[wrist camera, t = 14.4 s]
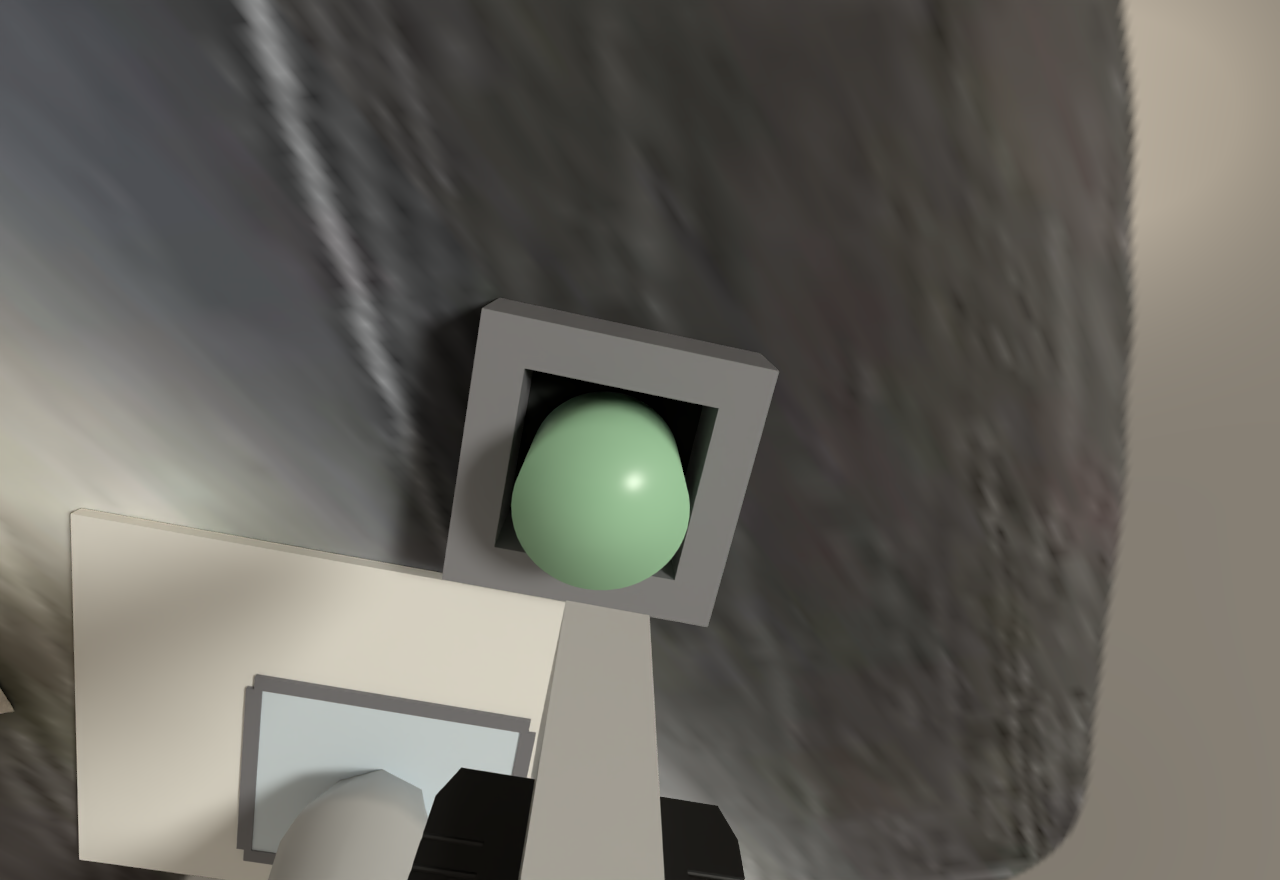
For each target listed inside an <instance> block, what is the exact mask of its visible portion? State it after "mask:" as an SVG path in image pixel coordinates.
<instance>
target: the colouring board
mask: <svg viewBox="0 0 1280 880" xmlns="http://www.w3.org/2000/svg"><path fill="white" fill-rule="evenodd" d="M71 550H72V590H73V629H74V669H75V708H76V748H77V788H78V827H79V860H86V861H93V862H100V863H108V864H115V865H122V866H129V867H136V868H144V869H151V870H158V871H165V872H172V873H179V874H187V875H194V876H201V877H209V878H215V879H222V880H268V878H269V875H270V872H271V869H272V865H273V862H274V859H275V856H276V853H277V850H278V847H279V843H280V841H281V840H282V838H283V837H284V835H285V834H286V832H287V831H288V829H289V828H290V826H291V825H292V824H293V822H294V821H295V819H296V818H297V817H298V815H299V814H300V813H301V811H302V810H303V809H304V808H305V807H306V806H307V805H308V804H310V803H311V802H312V801H314V800H315V799H316V798H318V797H319V796H320V795H321V794H323V793H324V792H325V791H327V790H328V789H329V788H330V787H332V786H333V785H334V784H336V783H337V782H338V781H340V780H342V779H346V778H350V777H354V776H358V775H362V774H366V773H369V772H373V771H377V770H381V769H383V770H385V771H387V772H389V773H391V774H392V775H394V776H396V777H398V778H400V779H402V780H404V781H406V782H408V783H410V784H412V785H414V786H416V787H418V788H420V789H422V794H423V799H424V805H425V809H426V812H427V816H428V817H429V814H430V811H431V808H432V805H433V802H434V799H435V796H436V794H437V793H438V792H439V791H440V790H441V789H442V788H443V787H444V786H445V785H446V784H447V783H448V781H449V780H450V779H451V778H452V777H453V776H454V775H455V774H456V773H457V772H458V771H459V769H460V768H461V767H462V768H468V769H474V770H481V771H487V772H493V773H499V774H506V775H512V776H518V777H524V778H531V773H532V768H533V762H534V756H535V750H536V745H537V739H538V733H539V727H540V722H541V718H542V713H543V708H544V703H545V699H546V694H547V689H548V684H549V679H550V675H551V670H552V665H553V660H554V655H555V651H556V646H557V641H558V636H559V631H560V627H561V622H562V617H563V612H564V607H565V603H566V602H565V601H559V600H554V599H548V598H543V597H537V596H531V595H526V594H520V593H515V592H509V591H503V590H498V589H492V588H487V587H481V586H475V585H470V584H464V583H459V582H453V581H448V580H442V575H443V573H440V572H435V571H429V570H423V569H418V568H412V567H407V566H401V565H396V564H390V563H384V562H379V561H373V560H368V559H362V558H357V557H351V556H345V555H340V554H334V553H329V552H323V551H318V550H312V549H307V548H301V547H295V546H290V545H284V544H279V543H273V542H268V541H262V540H256V539H251V538H245V537H240V536H234V535H229V534H223V533H217V532H212V531H206V530H201V529H195V528H190V527H184V526H179V525H173V524H167V523H162V522H156V521H151V520H145V519H140V518H134V517H128V516H123V515H117V514H112V513H106V512H101V511H95V510H89V509H84V508H80V509H78V510H76V511H74V512H73V513H71Z"/></svg>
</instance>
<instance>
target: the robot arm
mask: <svg viewBox="0 0 1280 880" xmlns="http://www.w3.org/2000/svg"><path fill="white" fill-rule="evenodd" d="M744 879H745V877H744V871H743V866H742V860H741V855H740V849H739V844H738V839H737V838H736V836H735V834H734V833H733V831H732V829H731V828H730V826H729V824H728V823H727V821H726V819H725V818H724V816H723V814H722V813H721V811H720V809H719V808H718V806H715V805H709V804H703V803H696V802H690V801H684V800H678V799H671V798H665V797H660V791H659V774H658V756H657V739H656V722H655V704H654V687H653V670H652V652H651V635H650V617H649V615H645V614H639V613H634V612H628V611H623V610H617V609H612V608H606V607H601V606H595V605H590V604H584V603H579V602H573V601H568V600H566V603H565V607H564V612H563V617H562V622H561V627H560V631H559V636H558V641H557V646H556V651H555V655H554V660H553V665H552V670H551V675H550V679H549V684H548V689H547V694H546V699H545V703H544V708H543V713H542V718H541V722H540V727H539V733H538V739H537V745H536V750H535V756H534V762H533V768H532V773H531V778H524V777H518V776H512V775H506V774H499V773H493V772H487V771H481V770H474V769H468V768H462V767H461V768H460V769H459V771H458V772H457V773H456V774H455V775H454V776H453V777H452V778H451V779H450V780H449V781H448V783H447V784H446V785H445V786H444V787H443V788H442V789H441V790H440V791H439V792H438V793H437V794H436V796H435V799H434V802H433V805H432V808H431V811H430V814H429V817H428V820H427V823H426V826H425V829H424V832H423V836H422V839H421V840H420V843H419V846H418V849H417V852H416V855H415V858H414V861H413V865H412V869H411V871H410V873H409V876H408V879H407V880H744Z"/></svg>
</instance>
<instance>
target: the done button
mask: <svg viewBox="0 0 1280 880" xmlns="http://www.w3.org/2000/svg"><path fill="white" fill-rule="evenodd" d="M511 510H512V520H513V525H514V529H515V532H516V535H517V537H518V539H519V542H520V544H521V546H522V547H523V549H524V550H525V552H526V553H527V555H528V556H529V557H530V558H531V559H532V561H533V562H534V563H535V564H536V565H537V566H538V567H540V568H541V569H542V570H543V571H544V572H546V573H547V574H549V575H550V576H552V577H553V578H555V579H557V580H559V581H561V582H563V583H566V584H569V585H571V586H574V587H578V588H583V589H589V590H613V589H620V588H624V587H628V586H631V585H634V584H637V583H639V582H641V581H643V580H645V579H647V578H649V577H650V576H652V575H653V574H655V573H656V572H658V571H659V570H660V569H661V568H662V567H664V566H665V565H666V564H667V563H668V562H669V561H670V559H671V558H672V557H673V556H674V554H675V553H676V551H677V550H678V549H679V547H680V545H681V543H682V541H683V539H684V536H685V533H686V530H687V527H688V522H689V514H690V503H689V494H688V490H687V486H686V482H685V478H684V473H683V469H682V465H681V461H680V457H679V452H678V448H677V444H676V441H675V438H674V436H673V433H672V431H671V430H670V428H669V426H668V424H667V423H666V422H665V421H664V419H663V418H662V417H661V416H660V415H659V414H658V413H657V412H656V411H655V410H654V409H653V408H651V407H650V406H649V405H648V404H646V403H644V402H642V401H641V400H639V399H637V398H634V397H632V396H630V395H626V394H622V393H617V392H610V391H598V392H590V393H586V394H582V395H579V396H576V397H574V398H571V399H569V400H567V401H566V402H564V403H562V404H561V405H559V406H558V407H557V408H555V409H554V410H553V411H552V412H551V413H550V414H549V415H548V416H547V417H546V418H545V420H544V421H543V422H542V423H541V425H540V427H539V429H538V430H537V432H536V435H535V437H534V439H533V442H532V444H531V446H530V449H529V451H528V454H527V456H526V458H525V461H524V463H523V465H522V468H521V470H520V473H519V475H518V477H517V480H516V482H515V486H514V490H513V494H512V503H511Z"/></svg>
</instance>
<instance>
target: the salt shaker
mask: <svg viewBox="0 0 1280 880" xmlns="http://www.w3.org/2000/svg"><path fill="white" fill-rule="evenodd" d="M427 820H428V816H427V812H426V809H425V805H424V799H423V794H422V789H420V788H418V787H416V786H414V785H412V784H410V783H408V782H406V781H404V780H402V779H400V778H398V777H396V776H394V775H392V774H391V773H389V772H387V771H385V770H383V769H381V770H377V771H373V772H369V773H366V774H362V775H358V776H354V777H350V778H346V779H342V780H340V781H338V782H337V783H336V784H334V785H333V786H332V787H330V788H329V789H328V790H327V791H325V792H324V793H323V794H321V795H320V796H319V797H318V798H316V799H315V800H314V801H312V802H311V803H310V804H308V805H307V806H306V807H305V808H304V809H303V810H302V811H301V813H300V814H299V815H298V817H297V818H296V819H295V821H294V822H293V824H292V825H291V826H290V828H289V829H288V831H287V832H286V834H285V835H284V837H283V838H282V840H281V841H280V843H279V847H278V850H277V853H276V856H275V859H274V862H273V865H272V869H271V872H270V875H269V878H268V880H407V879H408V876H409V873H410V871H411V869H412V865H413V861H414V858H415V855H416V852H417V849H418V846H419V843H420V840H421V839H422V836H423V832H424V829H425V826H426V823H427Z"/></svg>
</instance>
